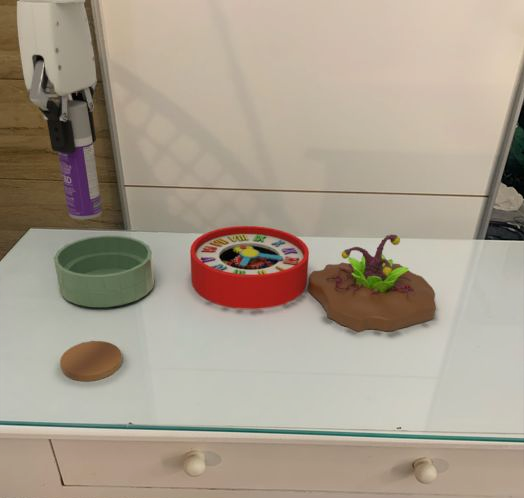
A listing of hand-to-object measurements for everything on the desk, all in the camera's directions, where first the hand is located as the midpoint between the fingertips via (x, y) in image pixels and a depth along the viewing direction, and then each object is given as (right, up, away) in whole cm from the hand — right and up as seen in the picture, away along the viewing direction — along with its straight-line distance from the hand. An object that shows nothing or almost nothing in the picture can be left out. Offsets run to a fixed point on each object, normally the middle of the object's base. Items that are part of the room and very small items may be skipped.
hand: (74, 144), depth 76 cm
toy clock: (+23, -16, +21) cm, 35 cm away
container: (0, -8, +6) cm, 10 cm away
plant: (+44, -20, +17) cm, 51 cm away
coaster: (+2, -30, 0) cm, 30 cm away
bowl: (0, -17, +17) cm, 25 cm away
